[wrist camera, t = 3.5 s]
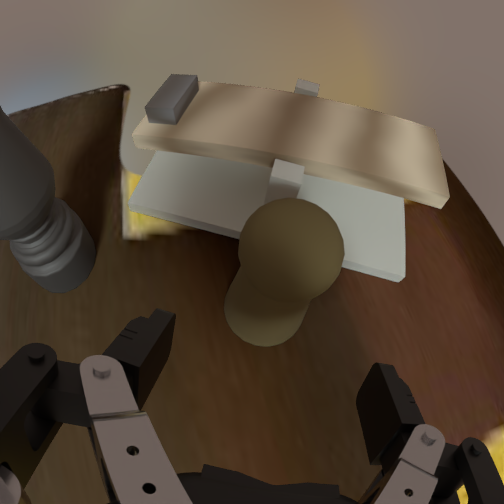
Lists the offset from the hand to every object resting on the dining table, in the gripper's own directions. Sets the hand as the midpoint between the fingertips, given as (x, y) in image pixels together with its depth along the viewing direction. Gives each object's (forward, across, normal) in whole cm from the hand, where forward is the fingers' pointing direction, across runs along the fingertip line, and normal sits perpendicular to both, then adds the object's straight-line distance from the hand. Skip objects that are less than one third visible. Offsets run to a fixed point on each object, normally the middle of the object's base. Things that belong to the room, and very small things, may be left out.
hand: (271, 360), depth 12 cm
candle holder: (+11, +17, +4) cm, 21 cm away
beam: (+16, +1, -9) cm, 18 cm away
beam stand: (+20, +1, -5) cm, 21 cm away
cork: (+12, 0, +4) cm, 12 cm away
